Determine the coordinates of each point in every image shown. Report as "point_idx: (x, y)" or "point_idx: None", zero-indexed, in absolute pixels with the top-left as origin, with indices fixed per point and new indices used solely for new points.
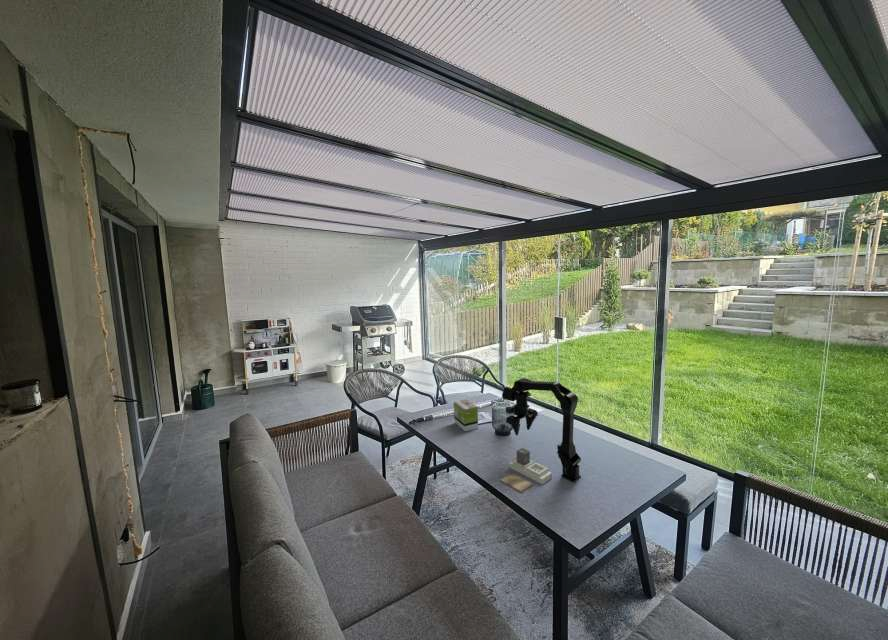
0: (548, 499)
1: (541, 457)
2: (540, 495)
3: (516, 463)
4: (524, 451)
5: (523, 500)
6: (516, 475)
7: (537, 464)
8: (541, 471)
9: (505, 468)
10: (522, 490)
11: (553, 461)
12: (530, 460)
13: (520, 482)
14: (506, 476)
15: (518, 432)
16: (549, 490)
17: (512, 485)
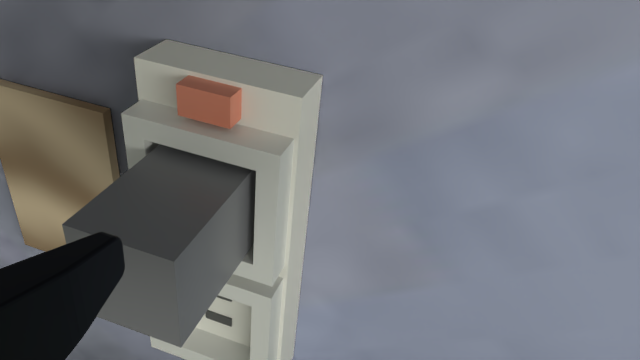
0: (109, 357)
1: (572, 242)
2: (100, 323)
3: (128, 158)
4: (125, 303)
5: (2, 263)
6: (109, 158)
7: (254, 319)
8: (192, 355)
9: (127, 11)
10: (34, 245)
11: (548, 345)
12: (266, 257)
13: (76, 211)
14: (37, 97)
15: (63, 354)
16: (171, 354)
17: (12, 179)
